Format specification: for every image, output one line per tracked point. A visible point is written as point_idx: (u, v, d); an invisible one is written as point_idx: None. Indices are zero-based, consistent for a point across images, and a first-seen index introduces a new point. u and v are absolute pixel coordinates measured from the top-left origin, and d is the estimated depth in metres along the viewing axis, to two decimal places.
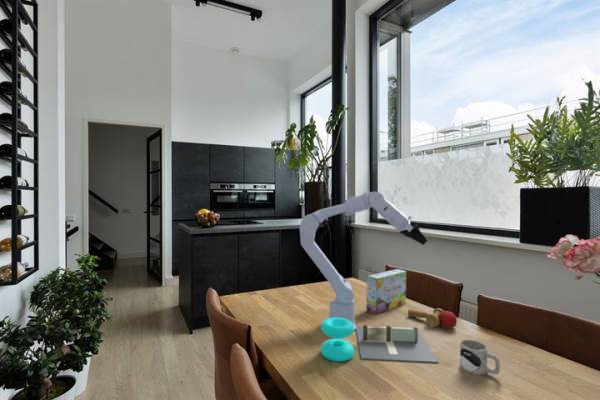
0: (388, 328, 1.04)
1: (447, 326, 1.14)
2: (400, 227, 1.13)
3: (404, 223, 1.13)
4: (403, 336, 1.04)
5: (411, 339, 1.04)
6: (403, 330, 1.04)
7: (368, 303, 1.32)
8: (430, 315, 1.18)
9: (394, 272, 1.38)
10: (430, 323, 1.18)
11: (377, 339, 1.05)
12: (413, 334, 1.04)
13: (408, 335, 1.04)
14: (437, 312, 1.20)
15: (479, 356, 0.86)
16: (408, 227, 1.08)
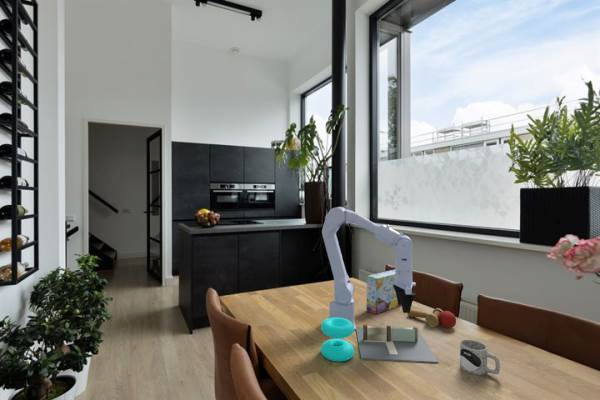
0: (388, 328, 1.04)
1: (446, 326, 1.15)
2: (400, 283, 1.10)
3: (406, 284, 1.09)
4: (403, 336, 1.04)
5: (411, 339, 1.04)
6: (403, 330, 1.04)
7: (368, 303, 1.32)
8: (429, 315, 1.18)
9: (394, 272, 1.38)
10: (429, 323, 1.19)
11: (377, 339, 1.05)
12: (413, 334, 1.04)
13: (408, 335, 1.04)
14: (437, 312, 1.20)
15: (479, 356, 0.86)
16: (408, 290, 1.05)
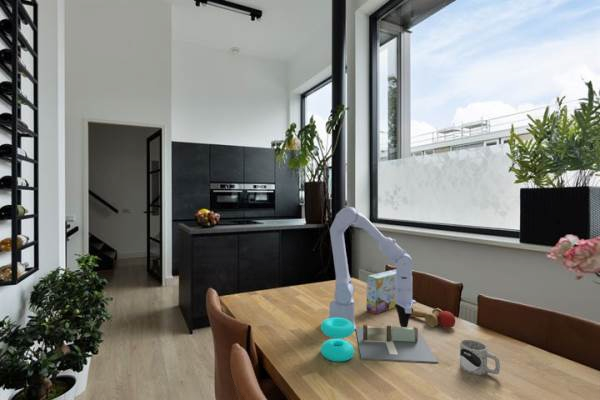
0: (388, 328, 1.04)
1: (445, 326, 1.15)
2: (400, 301, 1.10)
3: (406, 302, 1.09)
4: (403, 336, 1.04)
5: (411, 339, 1.04)
6: (403, 330, 1.04)
7: (368, 303, 1.32)
8: (429, 315, 1.18)
9: (394, 272, 1.38)
10: (429, 323, 1.19)
11: (377, 339, 1.05)
12: (413, 334, 1.04)
13: (408, 335, 1.04)
14: (436, 312, 1.20)
15: (479, 356, 0.86)
16: (408, 309, 1.05)
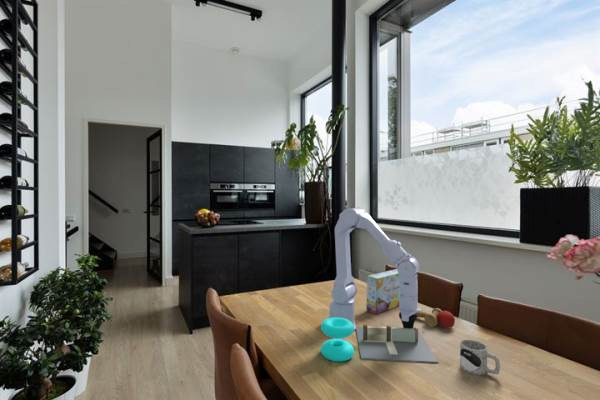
0: (388, 328, 1.04)
1: (445, 326, 1.15)
2: (402, 308, 1.04)
3: (408, 309, 1.03)
4: (403, 336, 1.04)
5: (411, 340, 1.03)
6: (403, 330, 1.04)
7: (368, 303, 1.32)
8: (428, 315, 1.18)
9: (394, 272, 1.38)
10: (428, 323, 1.19)
11: (377, 339, 1.05)
12: (413, 335, 1.03)
13: (408, 336, 1.03)
14: (435, 312, 1.20)
15: (479, 356, 0.86)
16: (404, 317, 0.99)
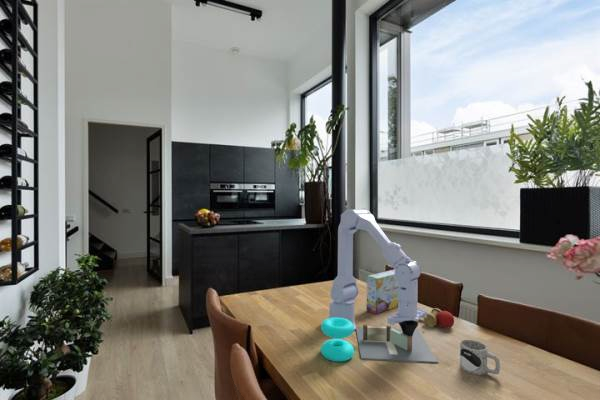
0: (388, 328, 1.04)
1: (444, 326, 1.15)
2: (398, 312, 1.00)
3: (401, 315, 0.98)
4: (398, 341, 1.01)
5: (404, 347, 0.98)
6: (398, 334, 1.01)
7: (368, 303, 1.32)
8: (427, 315, 1.18)
9: (394, 272, 1.38)
10: (428, 323, 1.19)
11: (377, 339, 1.05)
12: (406, 342, 0.98)
13: (402, 341, 0.99)
14: (435, 312, 1.21)
15: (479, 356, 0.86)
16: (389, 319, 0.97)
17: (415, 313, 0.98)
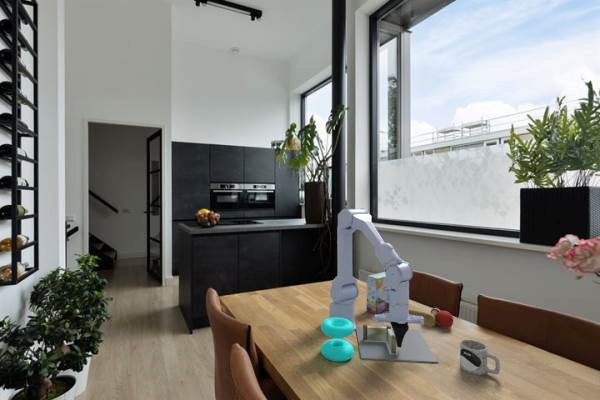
0: (388, 328, 1.04)
1: (443, 326, 1.15)
2: None
3: (389, 315, 0.98)
4: (389, 341, 1.00)
5: (390, 348, 0.98)
6: (389, 335, 1.00)
7: (368, 303, 1.32)
8: (427, 314, 1.18)
9: None
10: (427, 322, 1.19)
11: (377, 339, 1.05)
12: (391, 343, 0.97)
13: (390, 342, 0.99)
14: (434, 312, 1.21)
15: (479, 356, 0.86)
16: (375, 317, 0.99)
17: (402, 316, 0.95)
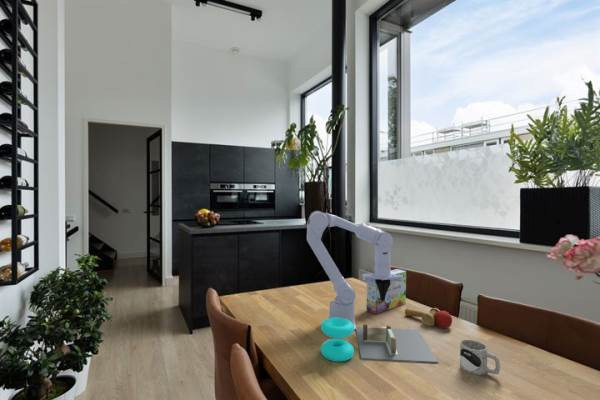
0: (388, 328, 1.04)
1: (442, 326, 1.15)
2: None
3: (375, 274, 1.19)
4: (389, 341, 1.00)
5: (390, 348, 0.98)
6: (389, 335, 1.00)
7: (368, 303, 1.32)
8: (426, 314, 1.19)
9: (394, 272, 1.38)
10: (426, 322, 1.19)
11: (377, 339, 1.05)
12: (391, 343, 0.97)
13: (390, 342, 0.99)
14: (433, 312, 1.21)
15: (479, 356, 0.86)
16: None
17: (384, 274, 1.16)
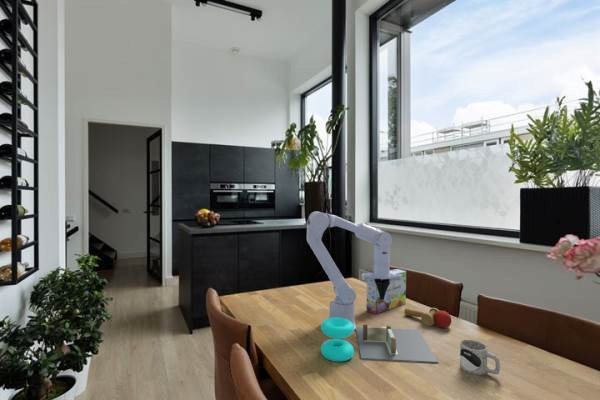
0: (388, 328, 1.04)
1: (441, 325, 1.15)
2: None
3: (374, 273, 1.19)
4: (389, 341, 1.00)
5: (390, 348, 0.98)
6: (389, 335, 1.00)
7: (368, 303, 1.32)
8: (425, 314, 1.19)
9: (394, 272, 1.38)
10: (425, 322, 1.19)
11: (377, 339, 1.05)
12: (391, 343, 0.97)
13: (390, 342, 0.99)
14: (433, 311, 1.21)
15: (479, 356, 0.86)
16: (362, 275, 1.20)
17: (384, 273, 1.17)
